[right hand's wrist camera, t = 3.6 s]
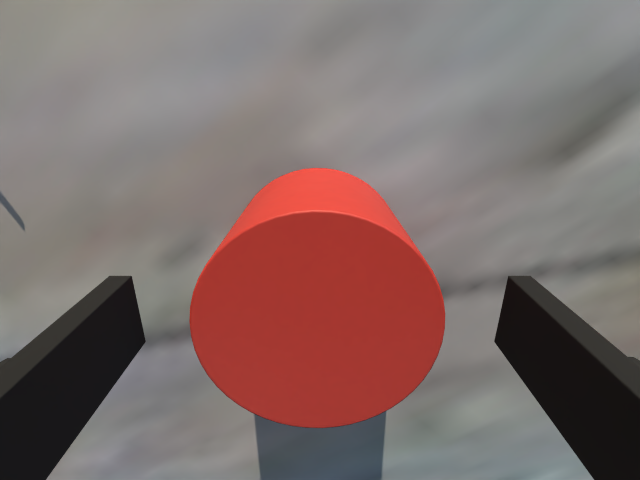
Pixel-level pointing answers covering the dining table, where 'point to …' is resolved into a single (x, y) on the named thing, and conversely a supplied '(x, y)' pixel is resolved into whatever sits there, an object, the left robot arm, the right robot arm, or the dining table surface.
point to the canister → (317, 304)
